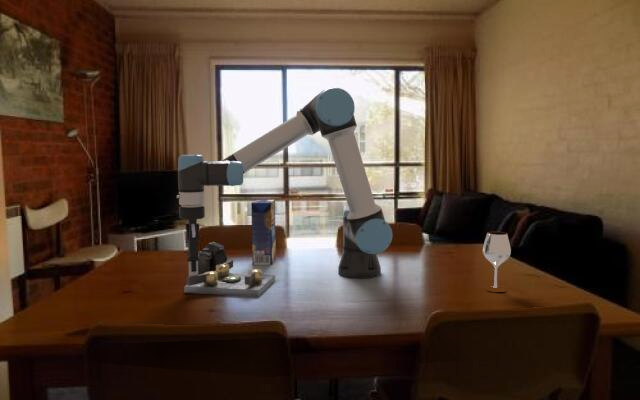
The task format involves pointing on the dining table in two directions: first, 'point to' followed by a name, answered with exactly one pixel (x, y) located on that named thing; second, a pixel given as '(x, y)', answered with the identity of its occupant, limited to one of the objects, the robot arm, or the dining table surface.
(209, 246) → the camera
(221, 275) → the knob far
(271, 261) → the juice carton
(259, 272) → the knob arm
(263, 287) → the level plate
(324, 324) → the dining table surface
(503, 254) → the wineglass
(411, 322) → the dining table surface
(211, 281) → the knob near
